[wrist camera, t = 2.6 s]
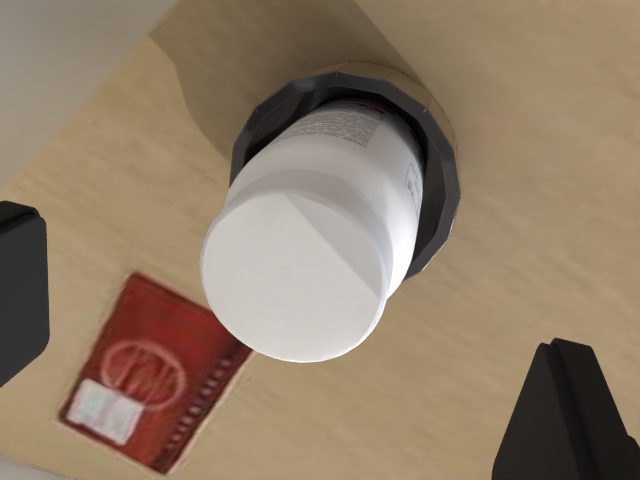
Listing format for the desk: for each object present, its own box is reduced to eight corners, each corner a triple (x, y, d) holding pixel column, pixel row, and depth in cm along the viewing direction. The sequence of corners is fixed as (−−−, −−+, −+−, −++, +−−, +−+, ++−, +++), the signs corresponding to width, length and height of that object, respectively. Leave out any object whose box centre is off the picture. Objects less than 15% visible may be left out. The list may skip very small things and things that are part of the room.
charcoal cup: (222, 136, 20) (187, 157, 18) (384, 16, 18) (371, 19, 15) (331, 286, 22) (314, 328, 19) (497, 196, 19) (504, 229, 16)
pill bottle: (258, 171, 20) (138, 279, 12) (345, 63, 18) (266, 113, 10) (360, 260, 20) (305, 415, 13) (457, 164, 18) (459, 282, 11)
